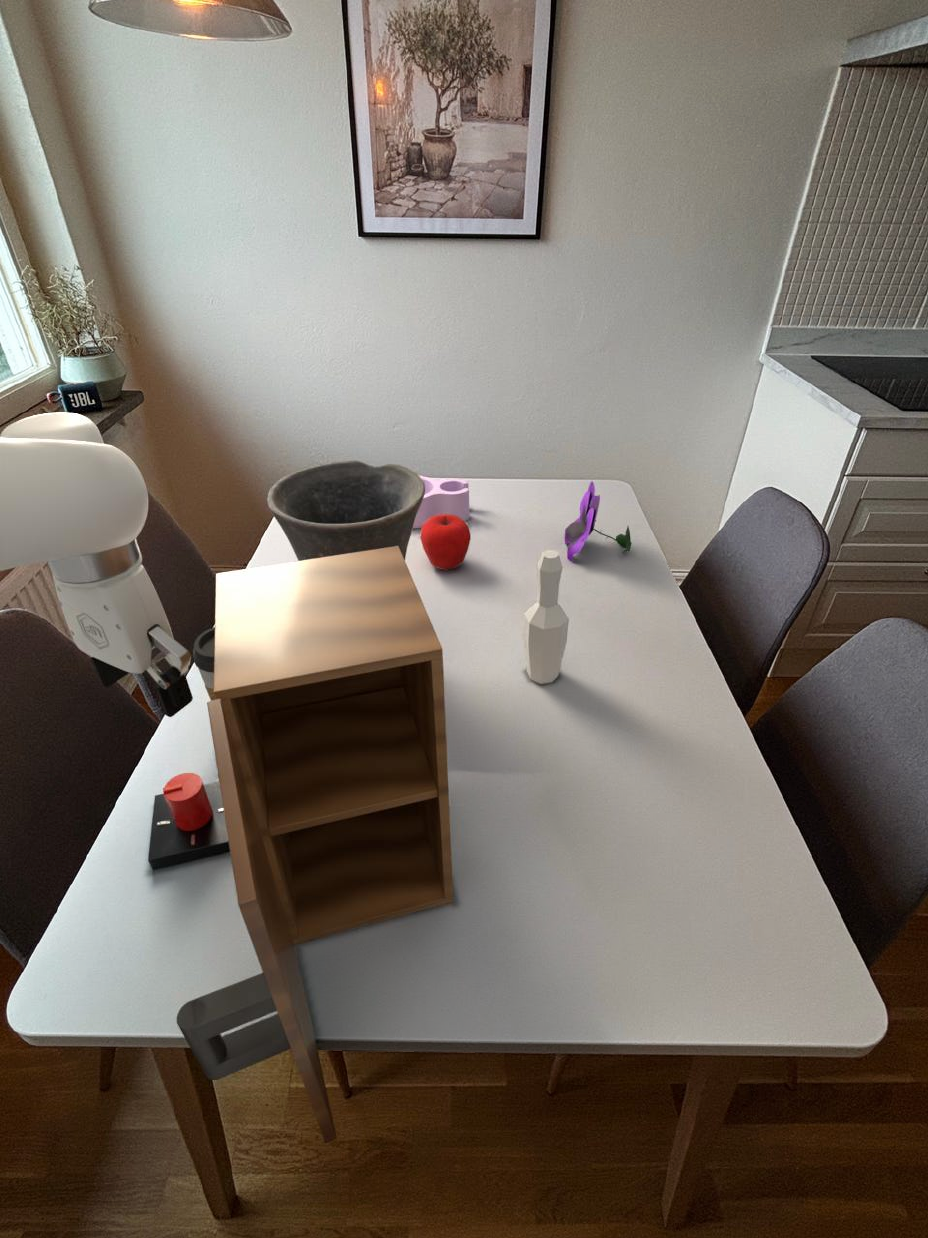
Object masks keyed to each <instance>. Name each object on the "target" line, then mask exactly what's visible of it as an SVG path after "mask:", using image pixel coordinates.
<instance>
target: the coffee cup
mask: <svg viewBox="0 0 928 1238" xmlns="http://www.w3.org/2000/svg"><path fill="white" fill-rule="evenodd" d="M214 644H215V626H213V627H210V628H208V629H207V630H205V631H203V632H202V633H200V634H199V635H198V636H197V637H196V638H195V641H194V643H193V649H192V657H193V663H194V665H195V666H196V667H197V669H198V671H199V673H200V676H201V678H202V682H203V684H204V688H205V690H206V693H207V695H208V697H209V700H210V701H213V700H216V699H215V695H214Z"/></svg>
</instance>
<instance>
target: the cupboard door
mask: <svg viewBox="0 0 928 1238" xmlns="http://www.w3.org/2000/svg"><path fill="white" fill-rule="evenodd" d="M206 706H207V712H208V718H209V725H210V731H211V738H212V745H213V751H214V757H215V763H216V770H217V776H218V782H219V783H220V790H221V796H222V803H223V809H224V815H225V822H226V828H227V835H228V841H229V848H230V852H229V853H230V859H231V866H232V872H233V873H232V874H233V879H234V885H235V892H236V899H237V904H238V908H239V910H240V913H241V916H242V919H243V921H244V924H245V928H246V930H247V932H248V935H249V938H250V941H251V944H252V947H253V949H254V952H255V954H256V957H257V960H258V963H259V965H260V969H261V971H262V972H260V973H258V974H255V975H253V976H250V977H248V978H244V979H242V980H240V981H237V982H235V983H232V984H228V985H227V986H224V987H222V988H219V989H216V990H214V991H212V992H208V993H205V994H203V995H201V996H199V997H196V998H193V999H191V1000H188V1001H186V1002H185V1003H184V1004H183V1005H182V1006H181V1007H180V1009H179V1010H178V1012H177V1014H176V1024H177V1026H178V1029H179V1031H180V1032H181V1034H182V1035H183V1037H184V1039H185V1040H186V1042H187V1044H188V1047H189V1049H190V1050H191V1051H192V1053H193V1055H194V1057H195V1059H196V1060H197V1062H198V1064H199V1066H200V1068H201V1070H202V1072H203V1074H204V1075H205V1077H206V1078H207V1079H208V1080H211V1081H218V1080H221V1079H224V1078H225V1077H228V1076H230V1075H233V1074H235V1073H237V1072H239V1071H242V1070H245V1069H247V1068H249V1067H251V1066H253V1065H254V1066H255V1065H256V1064H259V1063H261V1062H263V1061H265V1060H268V1059H270V1058H273V1057H275V1056H277V1055H279V1054H282V1053H285V1052H287V1051H289V1050H291V1054H292V1056H293V1058H294V1059H293V1060H294V1062H295V1064H296V1067H297V1070H298V1072H299V1076H300V1078H301V1080H302V1083H303V1087H304V1089H305V1092H306V1094H307V1098H308V1100H309V1102H310V1106H311V1108H312V1110H313V1114H314V1116H315V1119H316V1121H317V1124H318V1128H319V1130H320V1133H321V1135H322V1138H323V1141H324V1143H325V1144H328V1143H330V1142H332V1141H334V1140H336V1139H337V1132H336V1127H335V1123H334V1119H333V1118H334V1117H333V1116H332V1115H333V1114H332V1110H331V1104H330V1100H329V1096H328V1091H327V1087H326V1083H325V1077H324V1073H323V1069H322V1068H323V1067H322V1063H321V1059H320V1054H319V1050H318V1049H319V1048H318V1046H317V1041H316V1036H315V1032H314V1027H313V1021H312V1019H311V1014H310V1009H309V1003H308V1000H307V994H306V989H305V986H304V982H303V981H304V980H303V977H302V972H301V967H300V963H299V959H298V954H297V950H296V946H295V945H294V942H293V939H292V936H291V932H290V929H289V926H288V922H287V919H286V916H285V912H284V909H283V906H282V902H281V899H280V896H279V892H278V889H277V886H276V882H275V879H274V876H273V872H272V869H271V866H270V862H269V859H268V855H267V852H266V849H265V845H264V842H263V839H262V835H261V832H260V829H259V825H258V822H257V819H256V815H255V812H254V809H253V805H252V802H251V799H250V795H249V792H248V789H247V785H246V782H245V779H244V775H243V772H242V769H241V765H240V762H239V759H238V755H237V752H236V749H235V745H234V742H233V739H232V735H231V732H230V729H229V725H228V722H227V719H226V715H225V712H224V709H223V705H222V702H221V699H217V700H213V701H211V700H210V701H207V702H206ZM273 1013H275V1014H273ZM271 1014H272V1015H271ZM268 1015H270V1016H268ZM265 1016H267V1017H265ZM263 1017H265V1018H263ZM260 1018H262V1019H260ZM258 1019H260V1020H258ZM255 1020H258V1021H255ZM253 1021H255V1022H253ZM251 1022H253V1023H251ZM248 1023H250V1024H248ZM246 1024H248V1025H246ZM243 1025H245V1026H243ZM242 1026H243V1027H242ZM239 1027H240V1028H239ZM235 1028H238V1029H236V1030H233V1029H235ZM231 1030H233V1031H231ZM229 1031H231V1032H229ZM226 1032H228V1033H226ZM223 1033H226V1034H223ZM222 1034H223V1035H222Z"/></svg>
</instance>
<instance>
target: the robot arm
mask: <svg viewBox="0 0 928 1238" xmlns="http://www.w3.org/2000/svg"><path fill="white" fill-rule="evenodd" d="M148 512H149V492H148V489H147V485H146V482H145V479H144V477H143V474H142V473H141V471H140V469H139V468H138V466H137V465H136V463H135V462H134V461H133V460H132V458H131V457H130V456H129V455H128V454H126V453H125V452H124V451H123V450H121V449H119V448H118V447H116V446H114V445H111V444H108V443H107V444H106V443H104V439H103V436H102V434H101V432H100V430H99V428H98V427H97V425H96V424H95V422H94V421H92V420H91V419H90V418H89V417H87V416H84V415H82V414H79V413H74V412H48V413H42V414H36V415H32V416H28V417H25V418H22V419H19V420H17V421H15V422H12V423H11V424H9V425H8V426H5V428H4V429H3V430H2V431H1V433H0V572H2V571H7V570H11V569H14V568H15V569H16V568H20V567H24V566H28V565H34V564H40V563H44V562H47V564H48V566H49V569H50V571H51V574H52V579H53V583H54V584H53V585H54V589H55V592H56V594H57V598H58V601H59V605H60V608H61V610H62V613H63V616H64V619H65V621H66V625H67V627H68V629H69V632H70V635H71V637H72V639H73V642H74V644H75V646H76V647H77V648H78V650H80V651H81V652H82V653H85V654H86V655H87V656H89V657H90V661H91V664H92V667H94V671H95V674H96V676H97V677H98V680H99V683H100V685H101V686H102V687H104V688H109V687H111V686H112V685H114V684H115V683H117V682H118V681H120V680H121V679H123V678H124V677H126V676H127V675H128V674H134V675H142V674H143V673H145V671H146V672H147V673H148V674H149V675H150V677H152V679H153V680H154V681H155V682H156V683H157V685H156V686H155V691H156V694H157V696H158V699H159V702H160V704H161V708H162V710H163V713H164V715H165V716H166V717H168V718H173V717H174V716H175V715H177V714H178V713H179V712H180V711H181V710H183V709H184V708H185V707H186V706H188V705H189V704H190V703H192V701H193V699H194V697H193V694H192V691H191V687H190V685H189V682H188V679H187V674H188V673H189V671H190V670H191V659H192V654H191V653H190V651H189V650H188V649H187V648H185V646H183V645H182V644H181V643H179V642H178V641H177V640H175V638H174V635H173V632H172V628H171V624H170V621H169V619H168V617H167V614H166V611H165V610H164V607H163V604H162V601H161V600H160V597H159V595H158V592H157V591H156V588H155V586H154V584H153V582H152V580H151V578H150V576H149V574H148V572H147V570H146V567H144V565H143V564H142V562H143V556H142V552H141V550H140V546H139V544H138V541H137V538H138V536H139V535H140V534H141V532H142V530H143V528H144V527H145V525H146V520H147V518H148V514H149V513H148ZM153 649H157V650H159V651H160V652H158V653H157V654H155V655H153V656H152V653H153ZM162 659H164V660H166V662H167V663H168V664H169V665H170V668H168V669H167V670H166V671H165V672H164V673H163V672H162V671H161V670H160V668H159V667H158V666H157V665H156V664H157V663H158V662H160V661H161V660H162Z"/></svg>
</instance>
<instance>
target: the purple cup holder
mask: <svg viewBox="0 0 928 1238" xmlns="http://www.w3.org/2000/svg"><path fill="white" fill-rule="evenodd" d="M418 476H419V477H420V478H421V479H422V480H423V482H424V485H425V494H424V497H423V500H422V503H421V505H420V508H419V510H418V512H417V514H416V517H415V520H414V524H413V528H412V530H413V529H422V526H423V524H424V523H425V522H427V521H428V520H429V519H430V518H431V517H433V516H436V515H442V514H447V515H455V516H458V517H459V518H461V519H462V520H463V521H465V522H466V521H467V520H469V519H470V488H469V487H470V485H469V481H467V480H466V479H463V478H454V477H453V478H444V479H436V478H432V477H428V476H424V475H418Z"/></svg>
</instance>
